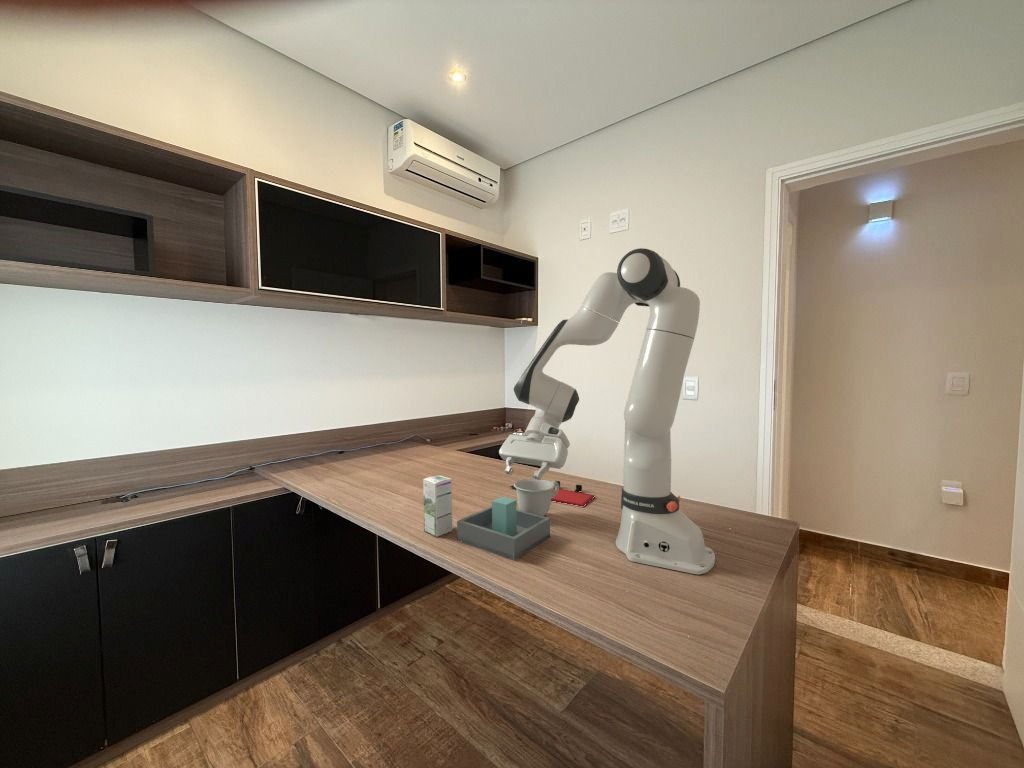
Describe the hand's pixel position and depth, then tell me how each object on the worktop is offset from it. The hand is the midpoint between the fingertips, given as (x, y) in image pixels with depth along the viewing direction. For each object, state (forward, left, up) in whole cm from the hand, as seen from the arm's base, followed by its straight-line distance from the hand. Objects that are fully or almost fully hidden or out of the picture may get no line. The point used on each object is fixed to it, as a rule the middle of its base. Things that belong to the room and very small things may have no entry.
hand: (521, 475), depth 109 cm
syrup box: (+17, +14, -15) cm, 27 cm away
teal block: (0, +7, -14) cm, 16 cm away
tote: (0, +7, -15) cm, 17 cm away
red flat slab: (+10, -32, -16) cm, 37 cm away
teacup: (+1, -11, -15) cm, 19 cm away
